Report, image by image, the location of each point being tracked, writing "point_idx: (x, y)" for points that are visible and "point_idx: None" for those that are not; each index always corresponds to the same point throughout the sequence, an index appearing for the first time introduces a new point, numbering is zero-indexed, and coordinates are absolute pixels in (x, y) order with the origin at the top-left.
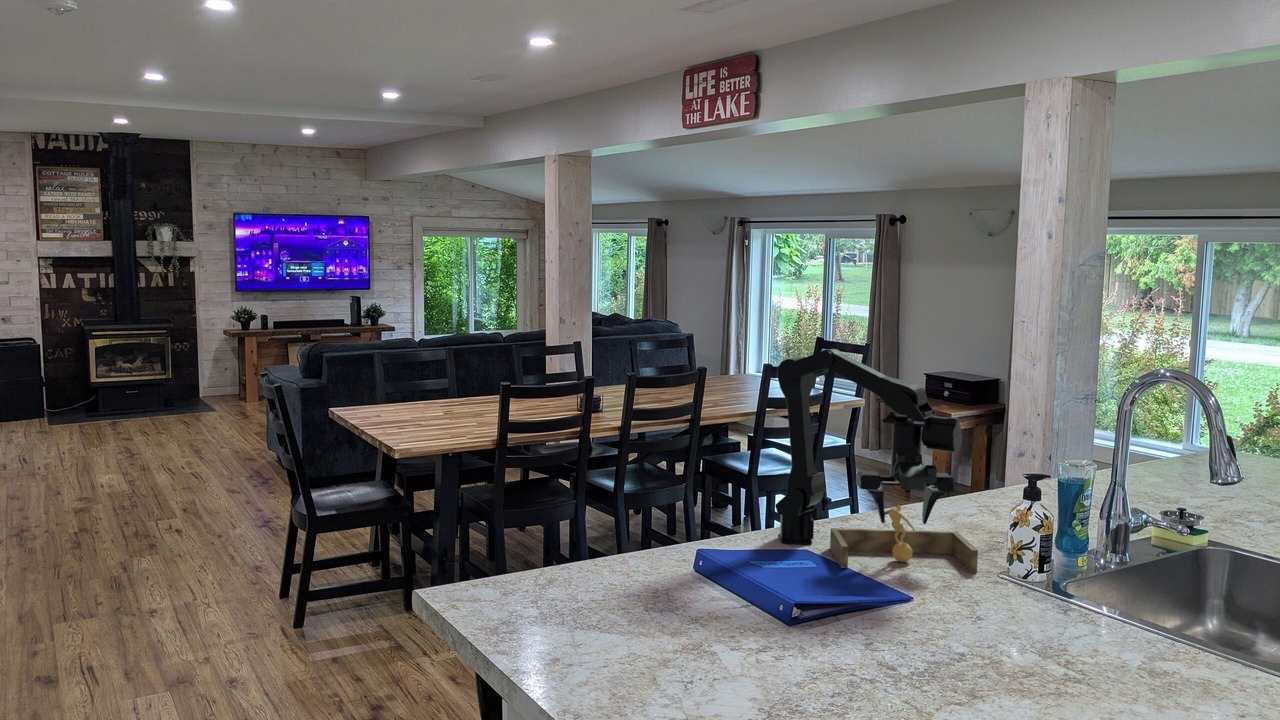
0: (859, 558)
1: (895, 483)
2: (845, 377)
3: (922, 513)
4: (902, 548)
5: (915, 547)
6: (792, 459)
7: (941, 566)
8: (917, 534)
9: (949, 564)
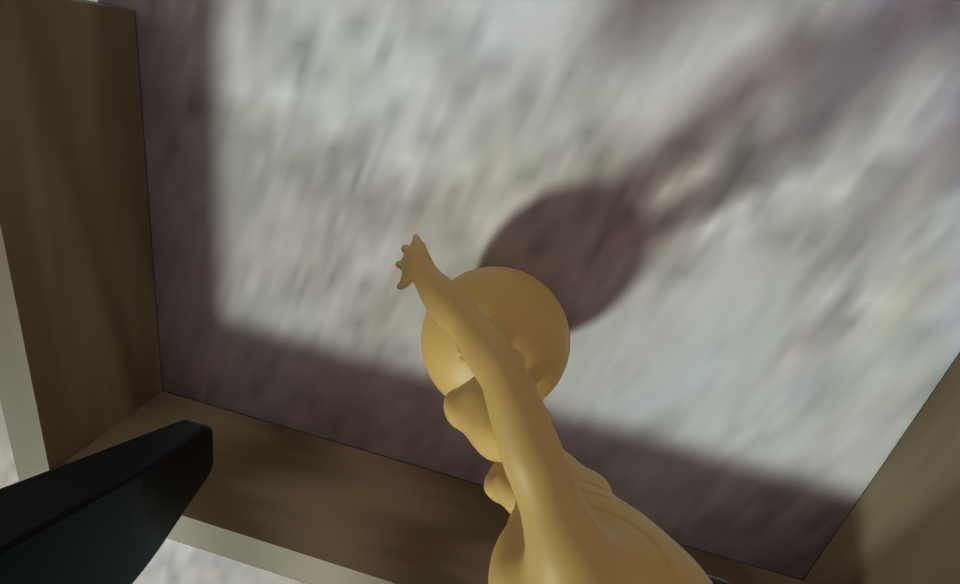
0: (752, 430)
1: None
2: None
3: (128, 580)
4: (516, 312)
5: (335, 468)
6: None
7: (285, 181)
8: (285, 529)
9: (224, 215)
